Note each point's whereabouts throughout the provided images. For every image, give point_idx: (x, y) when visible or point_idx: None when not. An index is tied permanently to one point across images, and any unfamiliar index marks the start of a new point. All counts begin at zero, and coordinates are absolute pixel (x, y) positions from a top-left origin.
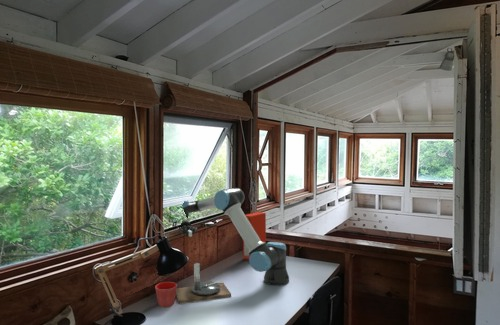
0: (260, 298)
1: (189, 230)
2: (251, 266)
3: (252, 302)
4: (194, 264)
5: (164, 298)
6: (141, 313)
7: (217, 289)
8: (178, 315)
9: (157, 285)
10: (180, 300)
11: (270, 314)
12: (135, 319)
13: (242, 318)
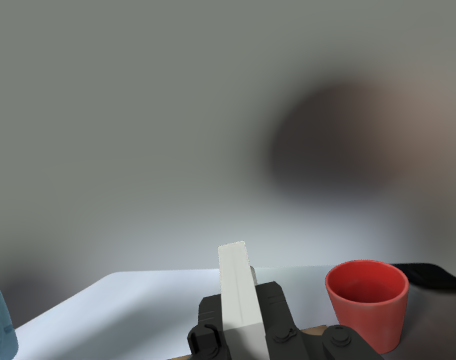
0: (83, 352)
1: (239, 294)
2: (17, 347)
3: (119, 332)
4: (252, 267)
5: (362, 288)
6: (421, 286)
7: (188, 357)
8: (311, 280)
9: (404, 286)
10: (320, 327)
11: (122, 286)
12: (416, 265)
13: (178, 274)
